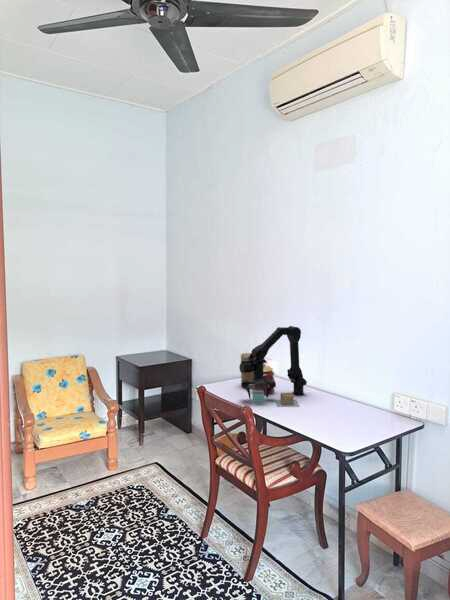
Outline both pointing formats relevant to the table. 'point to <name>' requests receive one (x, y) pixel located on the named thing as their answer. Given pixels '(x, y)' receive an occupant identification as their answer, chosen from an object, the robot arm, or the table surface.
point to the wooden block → (246, 375)
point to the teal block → (258, 396)
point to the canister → (269, 375)
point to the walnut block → (287, 398)
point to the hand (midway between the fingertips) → (258, 398)
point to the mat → (279, 404)
